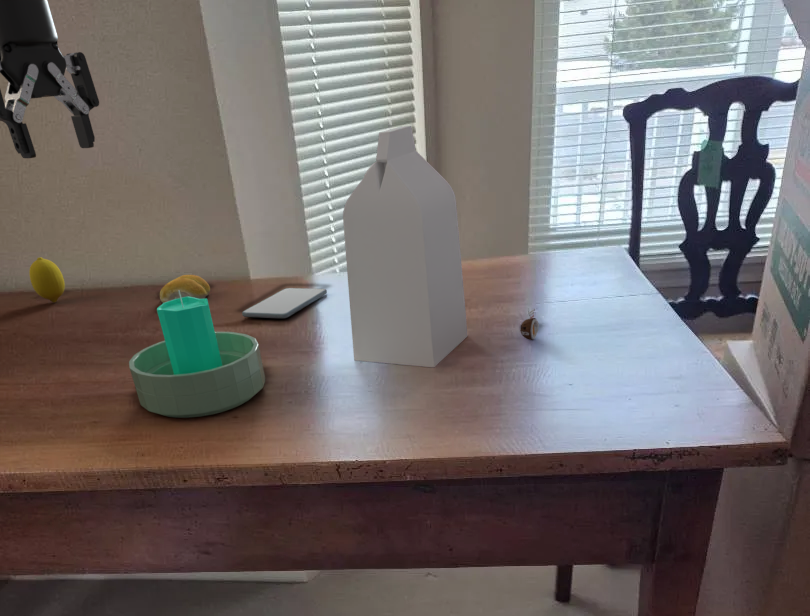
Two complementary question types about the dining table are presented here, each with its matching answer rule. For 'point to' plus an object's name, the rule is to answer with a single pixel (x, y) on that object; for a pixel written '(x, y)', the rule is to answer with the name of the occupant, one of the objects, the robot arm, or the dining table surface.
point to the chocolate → (529, 327)
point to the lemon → (47, 279)
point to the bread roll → (185, 288)
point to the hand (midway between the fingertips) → (59, 152)
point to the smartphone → (284, 303)
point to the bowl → (199, 379)
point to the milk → (403, 259)
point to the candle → (189, 335)
